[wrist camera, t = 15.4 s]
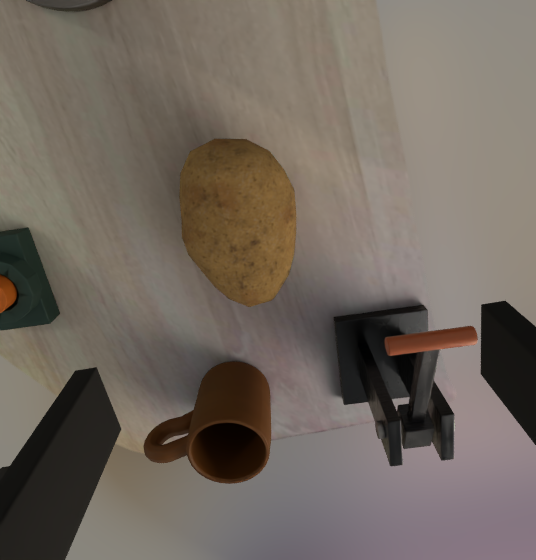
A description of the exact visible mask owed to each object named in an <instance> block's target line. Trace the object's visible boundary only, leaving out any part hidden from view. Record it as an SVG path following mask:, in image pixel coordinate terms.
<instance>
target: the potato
mask: <svg viewBox="0 0 536 560" xmlns="http://www.w3.org/2000/svg"><path fill="white" fill-rule="evenodd" d="M179 197H180V208H181V219H182V239H183V241H184V244H185V246H186V249H187V252H188V254H189V256H190V257H191V258H192V260H193V261H194V262H195V263H196V264H197V266H198V267H199V268H200V269H201V271H202V272H203V273H204V274H205V275H206V277H207V278H208V279H209V280H210V282H211V283H212V284H213V285H214V286H215V287H216V288H217V289H218V290H219V291H220V292H222V293H223V294H224V295H225V296H226V297H227V298H229V299H231V300H233V301H236V302H238V303H241V304H243V305H245V306H248V307H251V306H254V305H258V304H261V303H265V302H268V301H271V300H272V299H274V298H275V296H276V294H277V293H278V291H279V290H280V288H281V286H282V285H283V283H284V282H285V280H286V278H287V277H288V275H289V272H290V268H291V264H292V260H293V256H294V249H295V236H296V206H295V194H294V189H293V187H292V185H291V183H290V181H289V179H288V177H287V175H286V173H285V171H284V169H283V168H282V167H281V165H280V164H279V163H278V162H277V160H276V159H275V158H274V156H273V155H272V154H271V152H270V151H268V150H266V149H264V148H262V147H260V146H258V145H256V144H254V143H253V142H251V141H249V140H247V139H214V140H212V141H210V142H208V143H206V144H204V145H202V146H200V147H198V148H196V149H194V150H192V151H190V153H189V155H188V158H187V160H186V162H185V164H184V167H183V169H182V171H181V173H180V196H179Z"/></svg>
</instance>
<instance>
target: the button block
mask: <svg viewBox="0 0 536 560" xmlns="http://www.w3.org/2000/svg"><path fill="white" fill-rule="evenodd" d="M0 275H3V276H5V277H7V278H8V279H10V280H11V281H12V282H13V284H14V285H15V287H16V290H17V298H16V301H15V302H14V303H13V304H12V305H11V306H9V307H8V308H7V309H6V310H4V311H3V312H2V313H0V330H8V329H15V328H22V327H29V326H36V325H44V324H50V323H51V322H52V321H53V320H54V319H55V318H56V317H57V316H58V315H59V314H60V312H59V310H58V307H57V304H56V301H55V299H54V296H53V293H52V291H51V288H50V285H49V282H48V280H47V277H46V274H45V271H44V269H43V266H42V263H41V261H40V258H39V255H38V252H37V250H36V247H35V244H34V241H33V239H32V236H31V233H30V230H29V228H22V229H15V230H8V231H2V232H0Z"/></svg>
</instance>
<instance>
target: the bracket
mask: <svg viewBox="0 0 536 560" xmlns="http://www.w3.org/2000/svg"><path fill="white" fill-rule="evenodd" d="M334 326H335V335H336V344H337V354H338V363H339V373H340V382H341V391H342V399H343V403H344V405H347V404H355V403H363V402H368V403H369V405H370V408H371V411H372V414H373V417H374V420H375V427H376V432H377V436H378V438H379V439H381V440H382V443H383V446H384V449H385V452H386V455H387V458H388V461H389V464H390V466H398V465H402V464H403V458H402V437H401V421H400V418H399V416H398V413H397V411H396V409H395V406H394V404H393V402H392V399H395V398H403V397H410V393H411V387H412V380H413V374H414V368H415V361H416V355H417V352H416V353H408V354H400V355H393V356H389V355H388V354H387V352H386V348H385V338H386V337H391V336H398V335H406V334H413V333H421V332H428V310H427V309H426V307H425V306H424V305H419V306H412V307H405V308H397V309H390V310H383V311H375V312H368V313H360V314H353V315H346V316H338V317H334ZM427 409H428V412H429V414H430V417H431V420H432V423H433V425H434V428H435V430H434V434H433V438H432V442H433V444H434V446H435V448H436V450H437V452H438V454H439V456H440V458H441V460H450V459H454V429H455V422H454V413H453V412H452V410H451V408H450V406H449V405H448V403H447V402H446V400H445V398H444V397H443V395H442V393H441V392H440V390H439V388H438V387H437V385H436V383H435V382H434V380H433V385H432V390H431V394H430V399H429V403H428V408H427Z"/></svg>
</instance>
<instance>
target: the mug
mask: <svg viewBox="0 0 536 560" xmlns="http://www.w3.org/2000/svg"><path fill="white" fill-rule="evenodd" d="M186 433H188V435H187V436H185V437H182V438H180V439H177V440H175V441H172V442H170V443H167V444H164V445H162V444H163V443H164V442H165V441H166V440H167V439H169V438H171V437H173V436H177V435H183V434H186ZM270 444H271V407H270V389H269V385H268V382H267V380H266V378H265V376H264V375H263V374H262V373H261V372H260V371H259V370H258V369H256V368H255V367H253V366H251V365H249V364H247V363H243V362H235V361H233V362H225V363H222V364H219V365H217V366H215V367H213V368H212V369H211V370H209V371H208V372H207V374H206V375H205V376H204V378H203V380H202V382H201V384H200V387H199V391H198V395H197V400H196V403H195V407H194V410H192V411H191V412H189V413H187V414H185V415H183V416H182V417H178V418H173V419H170V420H167V421H165V422H163V423H161V424H159V425H158V426H156V427H155V428H154V429H153V430H152V431H151V432H150V433H149V434H148V436H147V438H146V440H145V443H144V452H145V455H146V457H147V458H149V459H150V460H151V461H153V462H157V463H168V462H171V461H174V460H176V459H179V458H181V457H184V456H186V455H187V456H188V459H189V461H190V463H191V465H192V467H193V468H194V469H195V470H196V471H197V472H198V473H199V474H201V475H202V476H204V477H205V478H207V479H209V480H212V481H215V482H219V483H229V484H230V483H239V482H243V481H246V480H249V479H251V478H253V477H254V476H256V475H257V474H258V473H260V472H261V471H262V469H263V468H264V467H265V465H266V464H267V461H268V459H269V454H270Z"/></svg>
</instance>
